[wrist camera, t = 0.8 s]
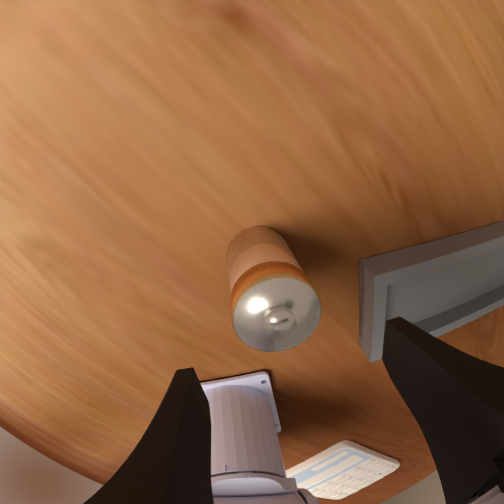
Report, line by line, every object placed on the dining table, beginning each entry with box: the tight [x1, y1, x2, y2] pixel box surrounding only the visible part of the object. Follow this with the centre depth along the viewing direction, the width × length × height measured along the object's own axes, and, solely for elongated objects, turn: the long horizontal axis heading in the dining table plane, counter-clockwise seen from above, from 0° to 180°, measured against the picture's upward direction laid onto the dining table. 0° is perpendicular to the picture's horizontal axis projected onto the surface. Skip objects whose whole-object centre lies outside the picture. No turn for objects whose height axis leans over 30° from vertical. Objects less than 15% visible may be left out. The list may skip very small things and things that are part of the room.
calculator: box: [286, 440, 400, 499], centre depth 35 cm, size 13×20×2 cm, turn 44°
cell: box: [227, 226, 321, 352], centre depth 17 cm, size 4×4×8 cm
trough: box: [359, 221, 504, 363], centre depth 22 cm, size 8×20×2 cm, turn 101°
